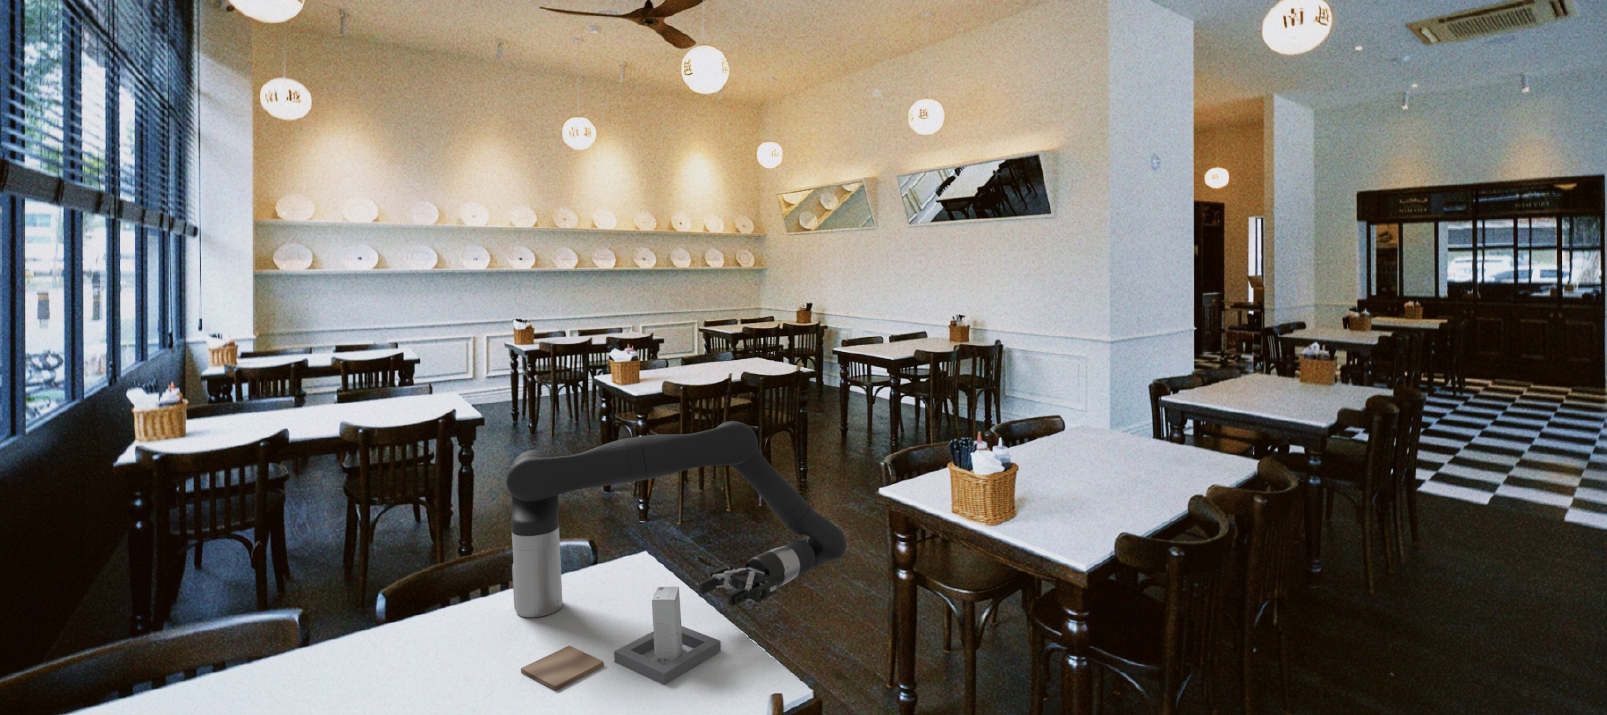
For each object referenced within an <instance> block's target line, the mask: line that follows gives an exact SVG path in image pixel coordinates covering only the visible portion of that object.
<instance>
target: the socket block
mask: <svg viewBox="0 0 1607 715" xmlns="http://www.w3.org/2000/svg"><path fill="white" fill-rule="evenodd" d="M681 629H682V644H684V645H686V646H689V647H691V648H693V649H691V650H688V651H686V652H685V653H683V654H681V656H680V657H678V658H676V659H674V660H673V661H671V662H669V663H667V664H666V665H663V664H661V663H659V662H656V661H655V659H651V658H649V657H647V656H645V655H644V654H646V653H647V652H650V651H651V650H653V649H654V632H653V631H651V632H648V633H647V634H645V635H642V636H641V637H640V638H638V639H636V640H633V641H632V642H630V643H628V644H625V645H624V646H622V647H620V648H618V649H616V650H614V652H613V654H614V655H613V656H614V659H613V660H614V663H615V664H616V663H617V664H618V665H620V666H623V667H625V668H627V669H630V670H631V671H634V673H635V672H636V673H638V674H640V675H642V676H645V677H646V678H648V679H651V680H653V681H655V682H657V683H659V684H662V685H664V686H665V685H666V684H668V683H670V682H672V681H673V680H675V679H677V678H678V677H679V676H681V675H683V674H686V673H687V672H688V671H690V670H692V669H693V668H695V667H696V666H699V665H700V664H702V663H703V662H705V661H707V660H709V659H710V658H712V657H714V656H716V655H717V654H718V653H721V652H722V649H721V648H722V641H721V640H719V639H716V638H714V637H712V636H709V635H706V634H704V633H701V632H699V631H696V630H693V629H691V628H688V627H685V626H684V625H681Z"/></svg>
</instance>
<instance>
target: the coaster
mask: <svg viewBox="0 0 1607 715" xmlns="http://www.w3.org/2000/svg"><path fill="white" fill-rule="evenodd" d="M604 665H605V663H604V660H601V659H600V658H597V657H595V656H592V655H590V654H589V653H586V652H584V651H583V650H580V649H578V648H576V647H574V646H571V645H567V646H564V647H563V648H560V649H559V650H556V651H554V652H553V653H550V654H548V655H546V656H543V657H542V658H539V659H538V660H536V661H533V662H531V663H529V664H527V665H525V666H523V667H521V668H520V673H521V674H523V675H525V676H527V677H529V679H533V680H534V681H536V682H538V683H540V684H542V685H544V686H545V687H547V688H549V689H551V690H553V691H555V692H556V691H558V690H560V689H561V688H563V687H565V686H567V685H570V684H572V683H574V682H575V681H577V680H580V679H581V678H583V677H585V676H587V675H588V674H591V673H593V672H594V671H596V670H598V669H600V668H602V667H604Z"/></svg>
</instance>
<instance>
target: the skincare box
mask: <svg viewBox="0 0 1607 715" xmlns="http://www.w3.org/2000/svg"><path fill="white" fill-rule="evenodd" d="M651 607H652V608H651V610H652V612H651V613H652V629H653V631H652V632H654V648H653V649H654V651H653V652H654V661H656V662H659V663H661V664H663V665H666V664H667V663H669V662H671V661H673V660H674V659H676V658H678V657H680V656H682V653H683V643H682V629H681V626H682V612H681V598H680V587H679V586H661V587H660V586H659V587H657V588H656V590H655V592H654V593H653V597H652V599H651Z"/></svg>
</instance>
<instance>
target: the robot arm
mask: <svg viewBox="0 0 1607 715" xmlns="http://www.w3.org/2000/svg"><path fill="white" fill-rule="evenodd" d="M714 466H715V467H716V466H731V467H732V469H734V470H736V471H737V472H738V473H739V474H740V475H741V476H742V477H743V478H744V479H745V480H746V481H747V482H748V483H749V485H751V486H752V487H753V488H754V490H755V491H756V492H757V493H758V495H759V496H760V497H761V498H762V499H763V501H764V502H765V503H766V505H767V506H768V507H769V508H770V510H771V511H772V512H773V513H774V515H776V517H777V518H778V519H779V521H781V523H782V524H783V525H784V526H785V527H786V529H787V530H788V531H789V532H790V533H792V534H793V535H796V536H797V535H798V536H799V535H804V536H805V537H803V538H801V539H799V540H796V541H792V542H790V543H788V544H785V545H783V546H779V547H775V548H771V549H769V550H768V551H764V552H762V553H760V554H757V555H755V556H753V557H751V558H750V559H749V560H748V561H747V563H746V564H745V566H744V567H739V568H737V569H735V568H734V564H731V563H730V564H726V565H724V566H721V567H718V568H715V569H713V570H710V571H709V572H708V577H709V578H708V579H706V580H703V581H701V582H699V583H698V588H699V589H698V590H699V591H698V592H699V594H702V595H704V594H707V593H709V592H710V591H713V590H716V589H719V588H724V589H725V590H733V589H737V590H736V591H734V592H731V593H730V594H729V595H727V596H728V597H727V599H728V605H729V606H731V607H734V606H736V605H738V604H741V603H743V602H745V601H747V602H750V601H752V600H753V601H754V602H753V603H760V602H762V601H764V600H766V599H767V598H770V597H771V596H773V595H775V594H777V590H778V588H779V587H782V586H784V585H785V584H788V583H789V582H791V581H792V580H794V579H796V578H798V577H799V576H802V575H803V574H806V573H807V572H809V571H810V570H811V569H812V570H813V569H814V568H817V567H819V566H822V565H823V564H827V563H829V562H832V561H834V560H837V559H839V558H841V557H842V556H843V555H844V554H845V553H846V551H847V546H848V545H847V544H848V543H847V540H846V537H845V535H844V533H843V532H842V530H841V529H840V528H839V527H838V526H837V525H836V524H834V523H833V522H832V521H830V520H828V519H827V518H826V517H824V516H823V515H822V514H820V513H819V512H817V511H815V510H814V508H812V507H811V505H810V504H809V503H808V502H807V501H806V499H804V497H803V496H802V495H801V494H800V493H799V492H798V490H796V489H795V487H793V486H792V484H791V483H789V482H788V480H786V479H785V478H784V477H783V476H782V475H781V474H780V473H779V472H778V471H777V470H776V469H775V468H774V467H773V466H772V465H771V464H770V463H769V461H768V460H767V459H766V458H765V457H764V455H763V454H762V452H761V451H760V449H759V448H758V436H757V435H756V432H755V431H754V430H753V429H752V428H751V427H750V426H749V425H747V424H746V423H745V422H744V423H743V422H740V421H735V420H729V421H724V422H723V423H721V424H719V425H718V426H717V427H715V428H711V429H708V430H707V429H706V430H703V431H698V432H694V433H683V434H679V433H676V434H673V433H667V434H666V433H663V434H662V433H661V434H651V435H650V434H649V435H641V436H634V437H629V438H621V439H618V440H615V441H610V442H607V443H605V444H602V445H599V446H596V447H595V448H591V449H589V450H586V451H583V452H580V453H575V454H571V455H570V454H569V455H563V456H555V457H552V456H551V455H550V454H549V453H548V452H546V451H543V450H539V449H529V450H526V451H524V452H522V453H520V454H519V455H518V456H517V457H516V458H515V459H514V460H513V462H512V464H511V466H510V468H509V469H508V472H507V476H506V483H505V484H506V488H507V490H508V492H509V493H510V494H511V519H510V524H511V539H512V540H511V541H512V542H511V543H512V559H513V563H512V564H511V573H512V574H511V575H512V589H513V592H512V593H513V605H514V606H513V608H515V612H516V614H517V615H518V616H520V617H524V618H539V617H544V616H549V615H552V614H554V613H556V612H558V611H559V610H560V609H561V608H562V607H563V583H562V566H561V565H562V563H561V542H560V526H559V525H560V524H559V517H560V516H559V515H560V514H559V513H560V512H559V510H560V508H559V507H560V505H559V495H563V494H566V493H570V492H574V491H577V490H578V491H579V490H583V489H590V488H600V487H607V486H612V485H619V484H620V485H621V484H628V483H633V482H634V483H635V482H640V481H646V480H650V479H651V480H652V479H655V478H661V477H664V476H668V475H673V474H676V473H680V472H684V471H688V470H691V469H696V468H702V467H703V468H704V467H714ZM729 580H731V583H729Z"/></svg>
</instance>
